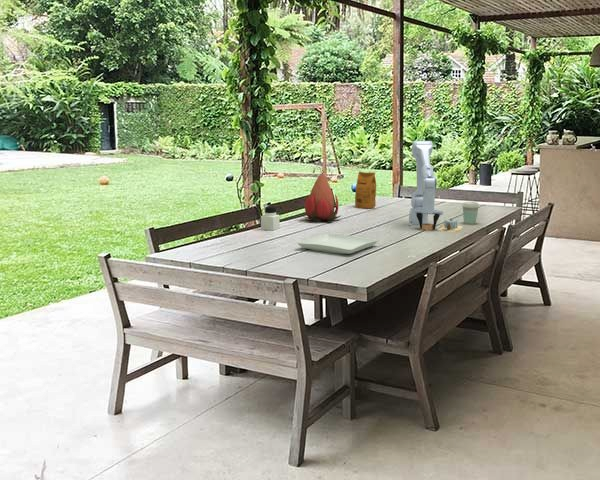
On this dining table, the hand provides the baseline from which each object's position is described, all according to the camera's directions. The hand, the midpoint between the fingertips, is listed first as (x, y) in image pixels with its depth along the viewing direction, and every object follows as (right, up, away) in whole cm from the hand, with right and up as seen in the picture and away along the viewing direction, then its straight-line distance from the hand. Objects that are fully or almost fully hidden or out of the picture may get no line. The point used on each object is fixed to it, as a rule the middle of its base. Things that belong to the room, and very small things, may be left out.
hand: (427, 228), depth 351 cm
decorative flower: (-52, +5, +32) cm, 62 cm away
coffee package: (-24, +14, +77) cm, 82 cm away
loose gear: (0, -1, 0) cm, 1 cm away
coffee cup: (+25, +2, +17) cm, 31 cm away
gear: (+13, +1, +5) cm, 14 cm away
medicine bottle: (-79, -1, +4) cm, 79 cm away
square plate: (-47, -10, -40) cm, 62 cm away
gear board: (+12, -1, +3) cm, 12 cm away
